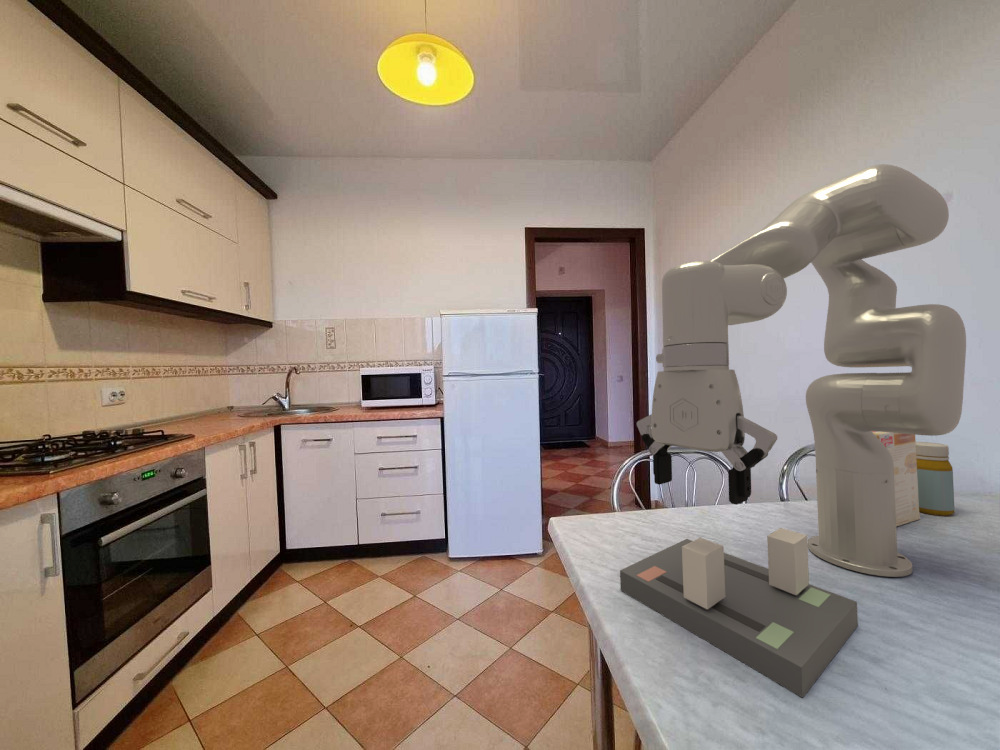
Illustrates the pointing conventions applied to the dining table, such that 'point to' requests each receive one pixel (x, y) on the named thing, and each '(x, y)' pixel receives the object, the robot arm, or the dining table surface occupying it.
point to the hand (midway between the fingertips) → (697, 491)
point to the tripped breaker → (703, 572)
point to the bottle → (934, 479)
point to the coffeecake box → (903, 474)
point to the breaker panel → (750, 616)
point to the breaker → (788, 560)
